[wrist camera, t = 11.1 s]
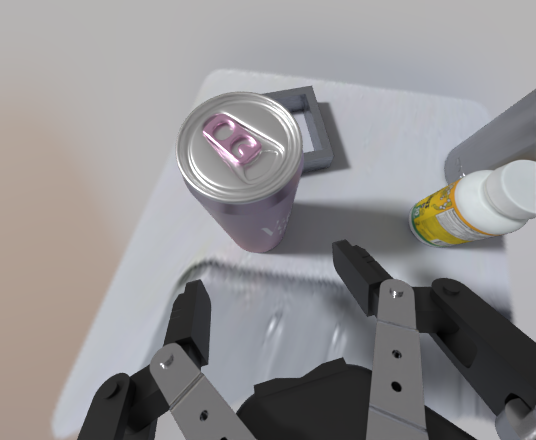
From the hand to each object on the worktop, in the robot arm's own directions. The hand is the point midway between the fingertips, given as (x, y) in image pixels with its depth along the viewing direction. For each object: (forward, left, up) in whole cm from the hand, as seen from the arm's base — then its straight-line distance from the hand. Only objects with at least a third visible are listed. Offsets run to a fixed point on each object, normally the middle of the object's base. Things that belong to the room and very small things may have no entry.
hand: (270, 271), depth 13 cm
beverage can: (0, -5, -10) cm, 11 cm away
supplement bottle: (-18, -2, -10) cm, 21 cm away
